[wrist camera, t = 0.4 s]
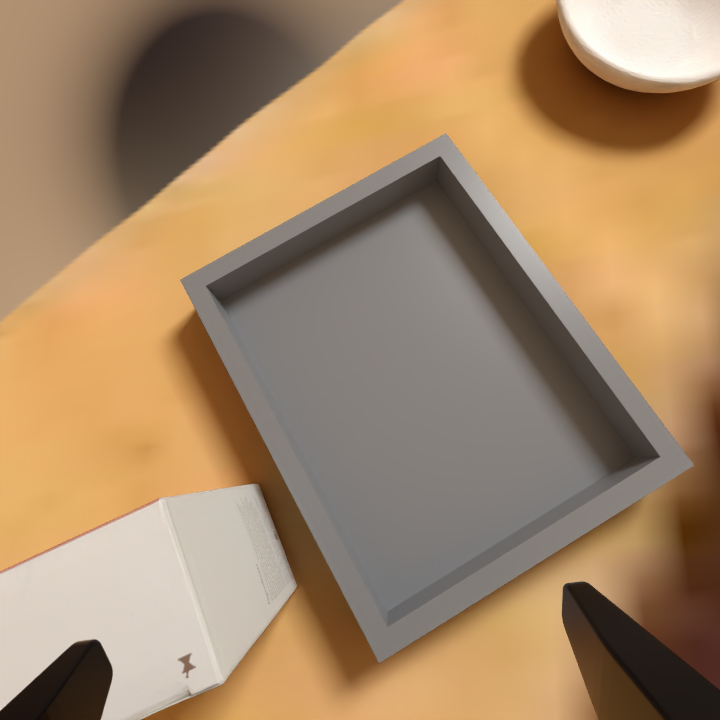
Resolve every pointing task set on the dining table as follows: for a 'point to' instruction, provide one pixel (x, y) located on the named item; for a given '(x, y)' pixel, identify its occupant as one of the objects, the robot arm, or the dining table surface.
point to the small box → (150, 598)
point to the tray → (427, 392)
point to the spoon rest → (645, 41)
